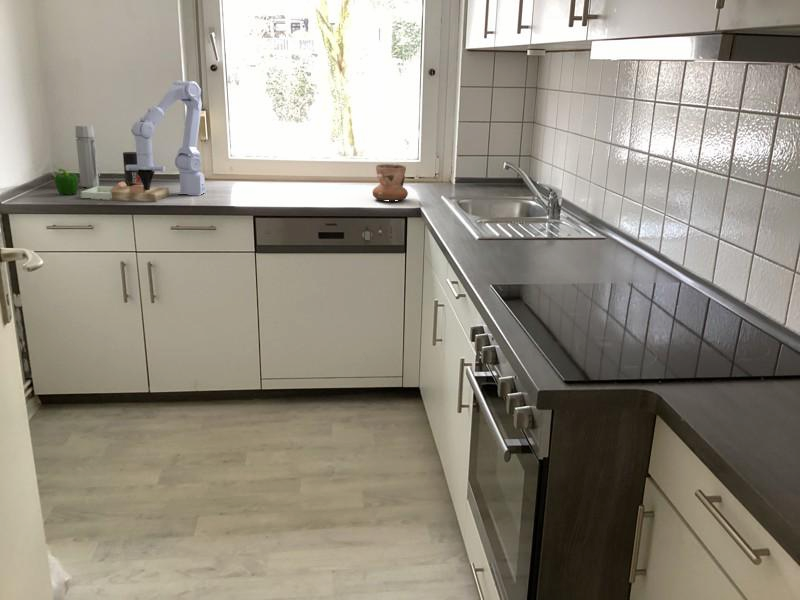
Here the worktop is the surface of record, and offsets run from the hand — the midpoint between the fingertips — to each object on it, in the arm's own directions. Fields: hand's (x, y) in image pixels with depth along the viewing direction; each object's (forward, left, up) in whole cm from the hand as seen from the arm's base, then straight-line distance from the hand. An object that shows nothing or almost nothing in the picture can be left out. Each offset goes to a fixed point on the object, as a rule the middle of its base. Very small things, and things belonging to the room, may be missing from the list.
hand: (147, 189), depth 274 cm
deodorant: (+14, -21, -4) cm, 25 cm away
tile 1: (+14, -7, -2) cm, 16 cm away
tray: (+19, -4, -4) cm, 20 cm away
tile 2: (+3, 0, -1) cm, 3 cm away
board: (+4, -4, -4) cm, 7 cm away
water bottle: (+32, -22, -4) cm, 39 cm away
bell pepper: (+33, -4, -4) cm, 34 cm away
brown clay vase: (-93, -23, -4) cm, 96 cm away
